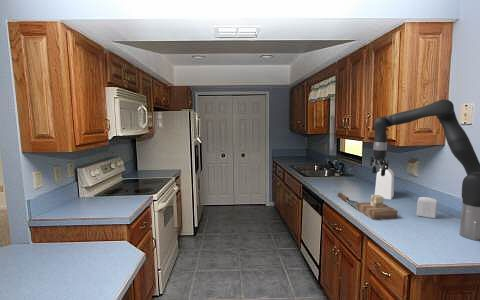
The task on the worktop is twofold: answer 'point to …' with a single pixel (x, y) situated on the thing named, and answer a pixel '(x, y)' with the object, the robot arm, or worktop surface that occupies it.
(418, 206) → the photo printer
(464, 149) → the robot arm
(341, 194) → the meat cleaver
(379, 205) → the beech block
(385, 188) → the milk
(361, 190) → the worktop surface
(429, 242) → the worktop surface
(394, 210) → the walnut base
